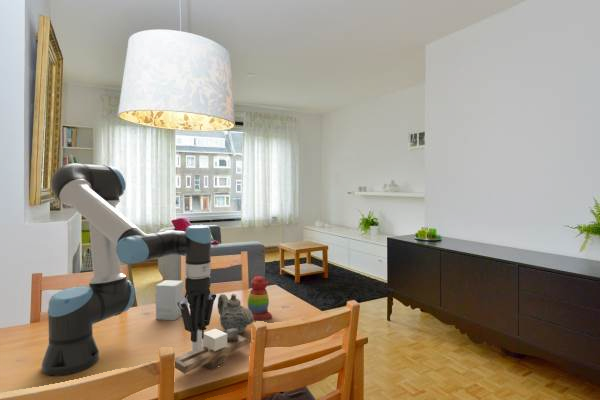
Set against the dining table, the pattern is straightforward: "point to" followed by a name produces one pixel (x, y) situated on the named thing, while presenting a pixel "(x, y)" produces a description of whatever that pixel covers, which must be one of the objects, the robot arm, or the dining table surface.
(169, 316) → the supplement box
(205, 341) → the rider
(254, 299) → the stacking bear
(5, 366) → the dining table surface
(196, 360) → the beam
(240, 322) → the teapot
